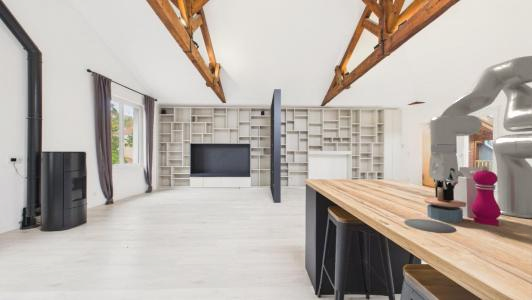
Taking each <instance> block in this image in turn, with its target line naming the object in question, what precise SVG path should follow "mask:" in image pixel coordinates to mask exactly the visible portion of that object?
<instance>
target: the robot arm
mask: <svg viewBox="0 0 532 300" xmlns="http://www.w3.org/2000/svg"><path fill="white" fill-rule="evenodd" d="M529 83H532V55H527V56H525V55H524V56H519V57H515V58H512V59H508V60H506V61H502V62H500V63H497V64H494V65H491V66H489V67H487V68H485V69H484V70H483V71H482V72H481V73H480V75H479V76H478V78H477V79H476V80H475V82H474V83H473V84H472V86H471V87H470V89H469V90H468V92H467V93H465V94H464V95H463V96H461V97H460V98H458V99H457V100H456V101H455V102H453V103H452V104H450V105H449V106H447V108H446V109H444V110H443V111H442V112H441V114H440V115H439V116H435V117H433V118H431V119H430V123H429V126H430V127H429V128H430V157H429V168H428V169H429V171H428V173H429V174H428V175H429V178H430V179H432V180H433V182H434V187H435V188H434V189H435V193H434V194H435V198H437V187H444V189H443V200H452V201H453V200H454V189H455V185H456V184H457V183H458V171H459V163H458V156H457V153H458V150H457V149H458V148H457V146H458V144H457V137H467V136H472V135H475V134H478V133H479V132H480V131H481V129H482V128H483V122H482V120H481V119H480V117H477V116H476V115H470V114H472V113H475V112H478V111H480V110H482V109H484V108H486V107H488V106H491V104H493V103H494V102H495V100H496V99H497V98H498V96H499V94H500V93H501V91H503V92H504V94H505V96H506V106H505V111H504V117H503V125H502V126H503V128H504V130H506V131H507V132H511V133H513V134H505V135H501V136H499V137H497V138H496V139H495V140H494V141H493V142H492V149H493V153H494V156H495V161H496V173H497V174H496V175H497V178H498V180H497V182H496V183H497V187H496V188H497V204H498V206H499V208H500V210H501V215H504V216H508V217H514V218H515V217H516V218H522V219H523V218H524V219H532V166H531V164H530V163H529V162H528V161H527V160H526V159H531V160H532V87H531V86H529V85H528V84H529ZM519 132H520V133H519ZM521 132H523V133H521ZM525 132H530V133H525ZM515 133H516V134H515Z"/></svg>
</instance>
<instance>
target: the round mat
mask: <svg viewBox="0 0 532 300" xmlns="http://www.w3.org/2000/svg"><path fill="white" fill-rule="evenodd" d="M403 223H404V225H406V226H408V227H410V228H412V229H416V230H419V231H422V232H427V233H428V232H429V233H435V234H436V233H437V234H452V233H456V232H457V228H456V227H455V226H452V225H450V224H447V223H445V222H442V221H438V220H433V219H423V218H411V219H410V218H409V219H406V220H404V222H403Z"/></svg>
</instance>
